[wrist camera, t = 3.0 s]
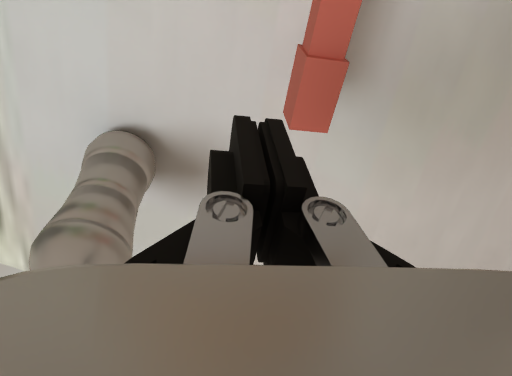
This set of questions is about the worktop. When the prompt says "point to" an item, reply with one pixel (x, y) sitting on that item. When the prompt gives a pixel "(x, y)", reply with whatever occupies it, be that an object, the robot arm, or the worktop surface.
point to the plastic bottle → (99, 206)
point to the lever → (320, 65)
